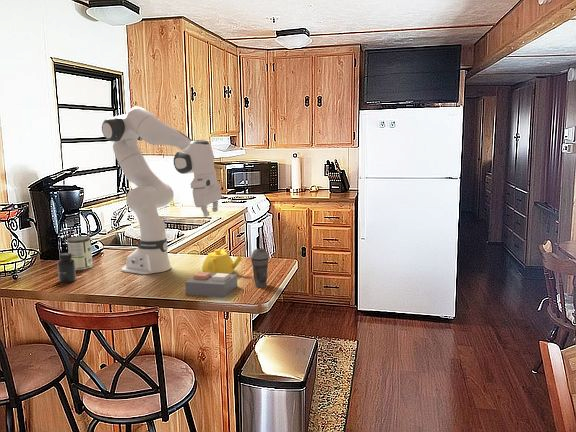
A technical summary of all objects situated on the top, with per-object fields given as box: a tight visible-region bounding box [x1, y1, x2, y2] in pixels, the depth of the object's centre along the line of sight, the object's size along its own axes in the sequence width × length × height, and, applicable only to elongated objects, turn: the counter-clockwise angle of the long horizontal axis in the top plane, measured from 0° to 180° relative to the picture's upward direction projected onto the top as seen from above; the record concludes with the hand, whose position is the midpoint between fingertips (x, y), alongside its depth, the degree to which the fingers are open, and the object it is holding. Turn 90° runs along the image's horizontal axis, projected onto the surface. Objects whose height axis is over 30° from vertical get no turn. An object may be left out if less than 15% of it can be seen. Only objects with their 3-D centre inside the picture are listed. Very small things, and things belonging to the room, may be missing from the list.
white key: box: [212, 273, 229, 281], centre depth 206 cm, size 5×5×2 cm
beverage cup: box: [250, 236, 270, 288], centre depth 212 cm, size 7×7×20 cm
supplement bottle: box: [57, 252, 77, 284], centre depth 225 cm, size 7×7×12 cm
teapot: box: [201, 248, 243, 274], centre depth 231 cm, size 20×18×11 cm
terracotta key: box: [193, 271, 211, 280], centre depth 209 cm, size 5×5×2 cm
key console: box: [184, 273, 238, 298], centre depth 208 cm, size 16×14×5 cm
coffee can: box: [66, 235, 94, 271], centre depth 247 cm, size 10×10×14 cm
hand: (211, 213), depth 214 cm, fingers open, 8 cm apart
